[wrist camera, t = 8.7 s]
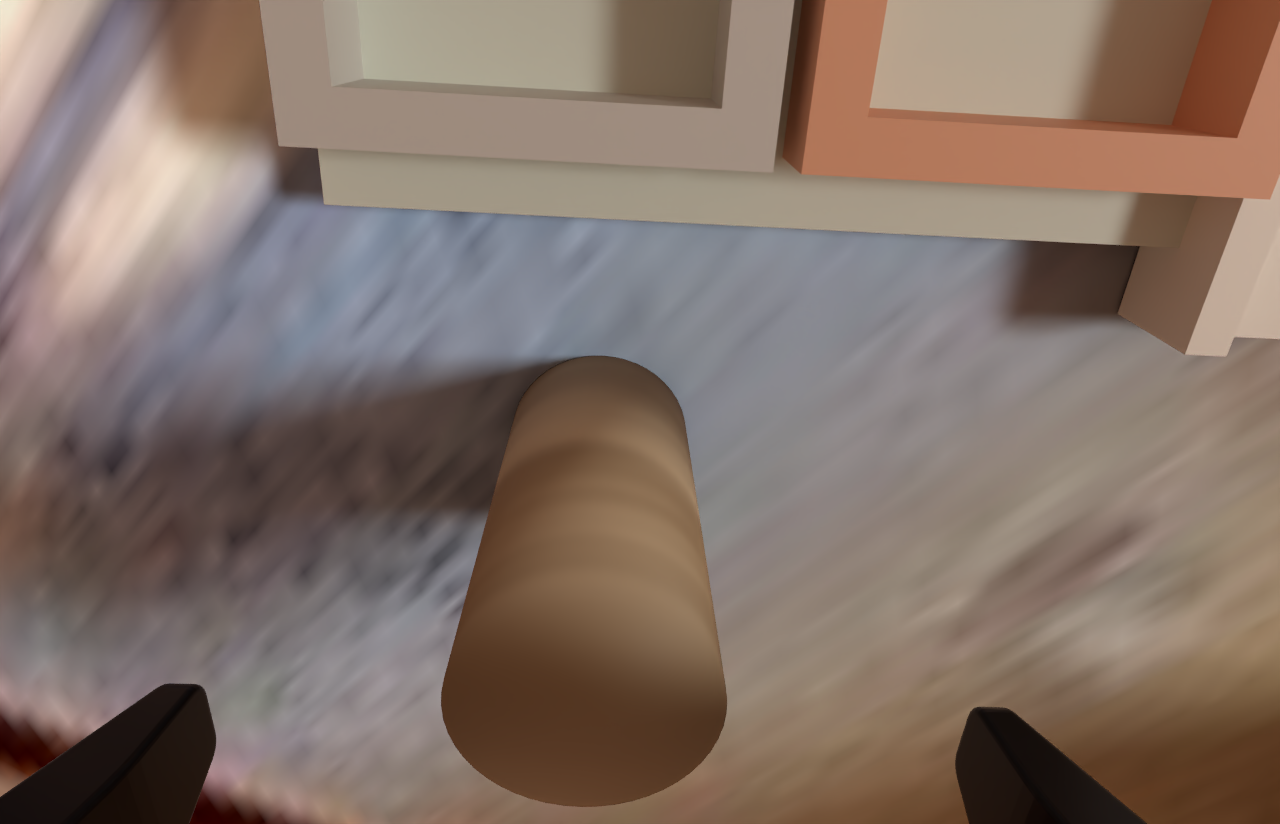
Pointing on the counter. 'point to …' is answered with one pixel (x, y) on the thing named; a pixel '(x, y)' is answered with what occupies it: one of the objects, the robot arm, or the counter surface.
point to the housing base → (1212, 278)
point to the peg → (589, 599)
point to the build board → (790, 110)
